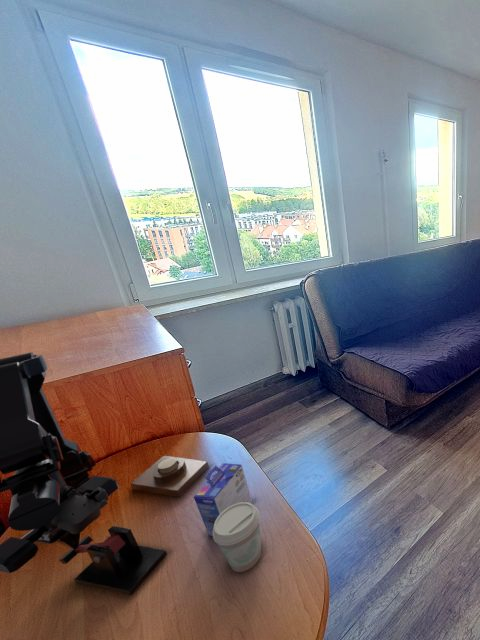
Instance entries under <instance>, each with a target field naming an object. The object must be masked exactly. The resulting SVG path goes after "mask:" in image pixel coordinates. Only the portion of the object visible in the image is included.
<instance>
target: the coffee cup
mask: <svg viewBox="0 0 480 640" xmlns="http://www.w3.org/2000/svg"><path fill="white" fill-rule="evenodd" d="M260 521H261V513H260V511H259V509H258V508H257V507H256V506H255V505H254V504H253V503H252V502H251V503H248V502H240V503H237V504H234V505H232V506H230V507H228V508H226V509H225V510H224V511H223V512H222V513H221V514H220V515H219V516H218V517H217V519H216V521H215V523H214V527H213V536H212V539H213V541H214V542H215V543H216V544H217V545H218V546H219V548H220V550H221V551H222V553H223V555H224V557H225V559H226V561H227V562H228V564H229V566H230V568H231V569H232V570H233V571H234V572H236V573H241V572H242V573H243V572H245V571H248V570H250V569H251V568H253V567H254V566H255V565H256V564H257V563H258V561H259V560H260V558H261V556H262V545H261V544H262V543H261V531H260V530H261V529H260Z"/></svg>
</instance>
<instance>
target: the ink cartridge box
mask: <svg viewBox="0 0 480 640" xmlns="http://www.w3.org/2000/svg"><path fill="white" fill-rule="evenodd" d="M204 478H205V480H206V482H205V483H204V484H203V486H201V488H200V489H199V490H198V491H197V492H196V493H195V494H194V496H193V499H194V502H195V504H196V507H197V509H198V512H199V514H200V517H201V519H202V522H203V524H204V527H205V529H206V533H207V535H208V536H212V537H213V527H214V523H215V521H216V519H217V517H218V516H219V515H220V514H221V513H222V512H223V511H224V510H225V509H226V508H228V507H230V506H232V505H234V504H237V503H240V502H248V503H251V504H252V503H253V499H252V496H251V491H250V489H249V486H248V482H247V478H246V474H245V471H244V468H243V464H240V463H239V464H238V463H229V462H228V463H227V462H223V463H221V464H220V465H219V466H217V465H214V467H213V468H212V469H211V470H210V471H209V472H208V473H207V474H206V475H205V476H204Z"/></svg>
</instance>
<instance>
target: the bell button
mask: <svg viewBox="0 0 480 640" xmlns="http://www.w3.org/2000/svg"><path fill="white" fill-rule="evenodd" d="M177 466H178V463H177V460H176V459H175V458H168V459H165V460H163V461H162V462H160V463H159V465H158V469H159V472H160V473H161V474H164V473H169V472H171V471H173V470H174V469H175V468H176V467H177Z"/></svg>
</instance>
